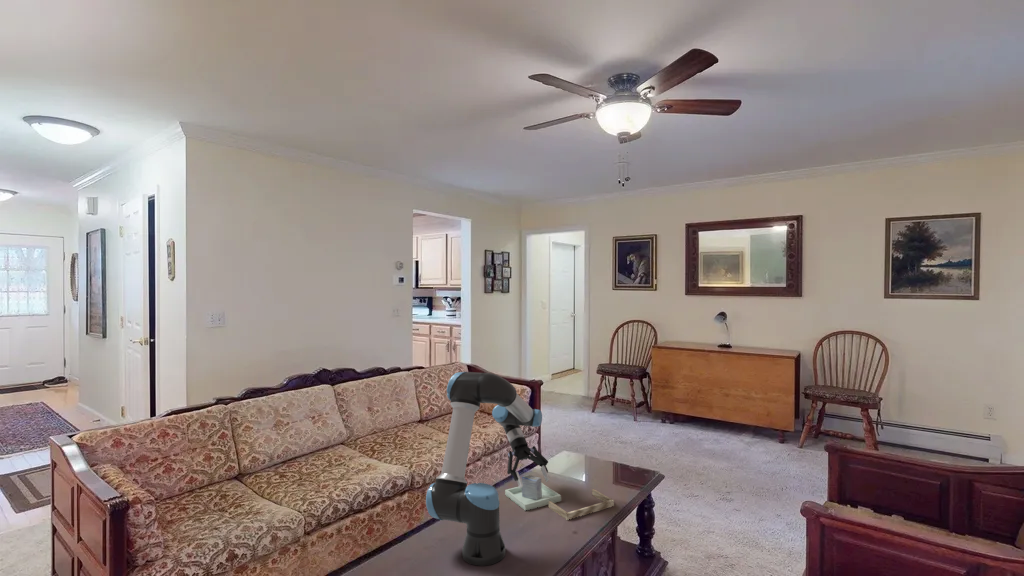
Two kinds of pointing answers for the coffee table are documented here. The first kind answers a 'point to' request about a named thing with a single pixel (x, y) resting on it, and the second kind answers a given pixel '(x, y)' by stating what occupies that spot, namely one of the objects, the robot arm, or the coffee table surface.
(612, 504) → the frame
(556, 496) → the sage-green tray
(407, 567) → the coffee table surface
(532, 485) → the medicine box
